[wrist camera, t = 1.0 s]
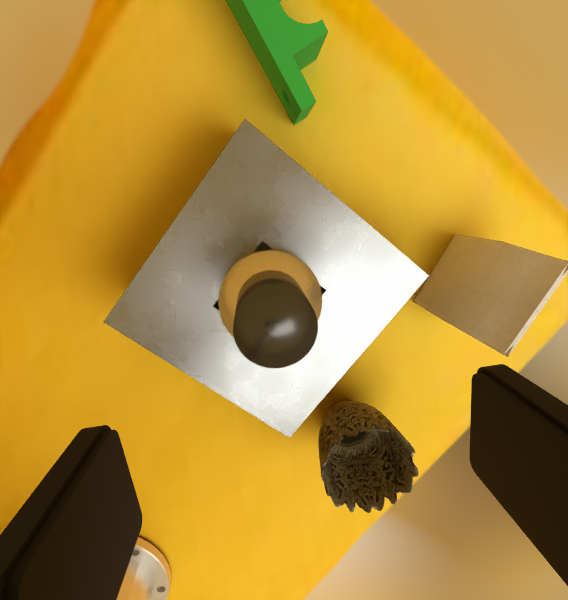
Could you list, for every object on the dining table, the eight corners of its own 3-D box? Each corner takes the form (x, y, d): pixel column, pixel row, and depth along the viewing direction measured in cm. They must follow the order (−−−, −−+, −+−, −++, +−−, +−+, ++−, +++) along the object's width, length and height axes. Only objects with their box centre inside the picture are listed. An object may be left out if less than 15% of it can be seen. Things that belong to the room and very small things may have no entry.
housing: (283, 397, 33) (289, 437, 27) (132, 299, 29) (103, 322, 24) (395, 262, 31) (428, 275, 25) (246, 137, 27) (245, 118, 21)
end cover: (274, 337, 30) (287, 410, 19) (208, 291, 29) (182, 343, 18) (324, 275, 29) (366, 316, 18) (258, 223, 28) (263, 235, 17)
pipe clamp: (335, 98, 27) (351, 79, 23) (293, 126, 27) (301, 111, 23) (255, -61, 24) (256, -119, 20) (210, -28, 24) (200, -79, 20)
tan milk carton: (412, 301, 32) (482, 343, 22) (454, 234, 30) (548, 248, 21) (445, 318, 32) (526, 366, 23) (487, 253, 31) (592, 275, 22)
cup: (300, 387, 33) (315, 443, 25) (376, 371, 33) (414, 421, 26) (313, 453, 35) (330, 523, 27) (385, 437, 35) (422, 502, 28)
